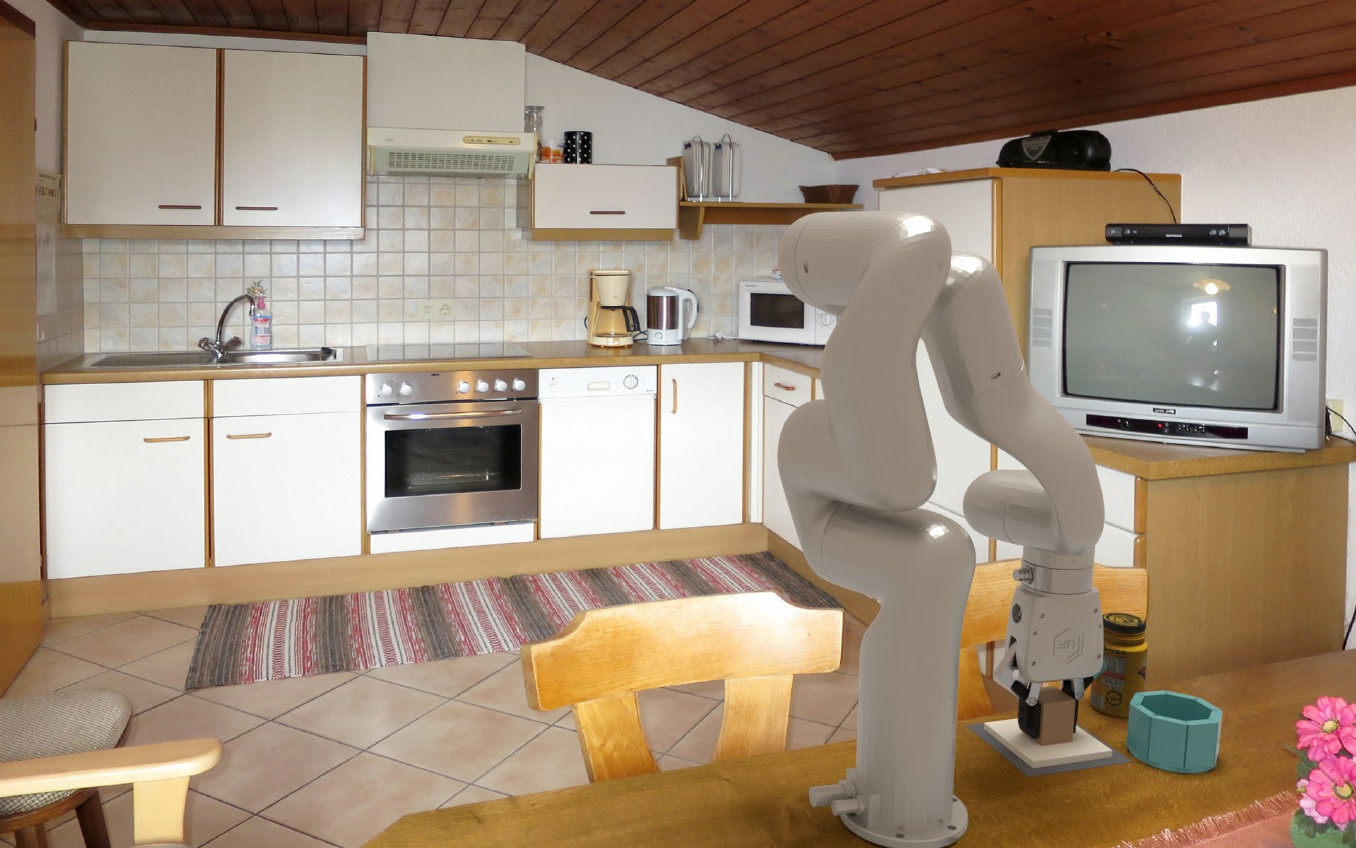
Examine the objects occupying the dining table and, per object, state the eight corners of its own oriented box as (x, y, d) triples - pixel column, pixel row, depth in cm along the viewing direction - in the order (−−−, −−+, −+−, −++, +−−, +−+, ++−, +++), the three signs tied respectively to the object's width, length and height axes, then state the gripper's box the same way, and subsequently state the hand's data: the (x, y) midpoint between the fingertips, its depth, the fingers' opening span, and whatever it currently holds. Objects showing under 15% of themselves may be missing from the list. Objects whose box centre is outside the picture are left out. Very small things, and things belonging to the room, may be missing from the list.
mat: (1028, 781, 118) (1028, 776, 118) (965, 729, 131) (965, 725, 130) (1132, 766, 122) (1132, 761, 122) (1061, 717, 134) (1061, 713, 134)
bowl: (1161, 780, 118) (1166, 727, 117) (1111, 744, 127) (1115, 694, 126) (1234, 773, 120) (1239, 720, 119) (1180, 737, 129) (1184, 688, 128)
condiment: (1158, 716, 135) (1165, 621, 133) (1114, 732, 130) (1122, 635, 128) (1105, 695, 141) (1112, 604, 139) (1062, 710, 136) (1069, 617, 134)
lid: (1032, 768, 120) (1035, 718, 119) (983, 729, 129) (986, 682, 128) (1112, 757, 123) (1115, 708, 122) (1058, 719, 132) (1061, 673, 131)
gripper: (1008, 592, 117) (999, 755, 120) (1143, 580, 121) (1131, 737, 124) (971, 572, 124) (964, 725, 127) (1100, 561, 129) (1090, 709, 132)
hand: (1047, 729), depth 126 cm, fingers closed on lid, 4 cm apart
